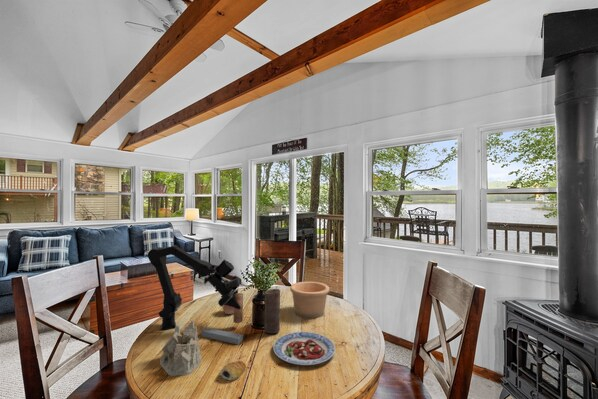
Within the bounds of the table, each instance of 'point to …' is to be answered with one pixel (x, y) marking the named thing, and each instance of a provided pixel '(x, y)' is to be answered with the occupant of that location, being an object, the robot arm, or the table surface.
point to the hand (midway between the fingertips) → (241, 306)
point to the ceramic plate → (304, 348)
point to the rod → (238, 312)
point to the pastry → (233, 370)
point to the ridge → (222, 335)
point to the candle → (272, 311)
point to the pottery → (309, 299)
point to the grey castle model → (181, 352)
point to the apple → (228, 309)
